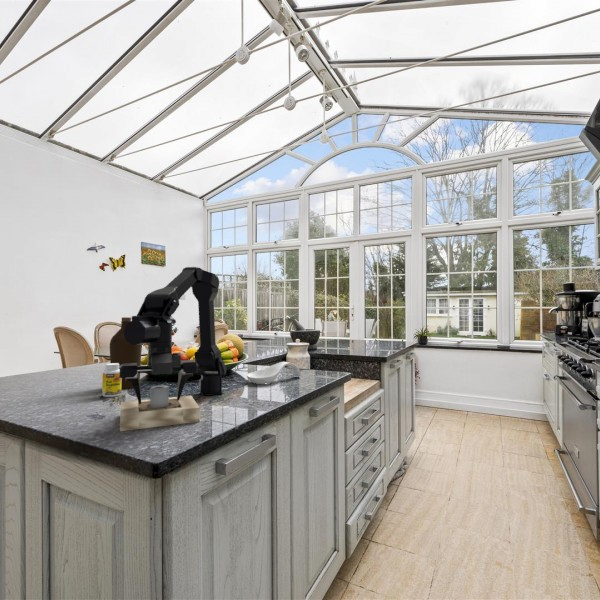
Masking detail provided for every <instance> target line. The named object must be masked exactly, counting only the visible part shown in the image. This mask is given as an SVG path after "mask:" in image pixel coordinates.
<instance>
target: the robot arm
mask: <svg viewBox="0 0 600 600" xmlns="http://www.w3.org/2000/svg"><path fill="white" fill-rule="evenodd" d="M219 286H220V279H219V277H218V276H217V275H216V274H215V273H213V272H210V271H208V270H203V268H201V267H199V266H186V267H184V268H183V269H182V271H181V272H180V273H179V274H178V275H177V276H175V277H174V279H172V280H171V281H170V282H169V283H168V284H167V285H166V286H165V287H162V288H159V289H155V290H153V291H151V292H149V293H148V294H146V296H145V297H144V301H143V303H142V304H141V306H140V308H139V310H138V312H137V314H136V315H132V316H131V322H129V323H128V324H127V326H126V327H125V330H124V337H125V339H126V341H127V342H128V343H130V344H132V345H139V344H142V345H143V344H145V345H146V344H148V345H147V365H141V366H137V363H125V364H122V365H121V366H120V378H125V381H130V382H131V384H132V386H133V388H132V389H134V393H135V395H136V398H137V401H138V402H139V404H141V400H142V396H141V387H140V385H139V379H138V373H140V374H147V373H151V375H154V376H158V375H163V374H166V375H170V374H171V375H172V373H173V372H178V371H179V372H178V379H177V390H176V397H177V400H179V399H180V397H181V396H182V393H183V389H184V387H185V384H186V383H187V381H188V380H189V378H190V377H193V376H194V374H196V376H201V377H200V379H199V380H198V381H199V382H198V384H199V385H198V386H199V388H198V389H199V392H200V394H201V395H202V396H203V397H204V396H214V395H215V396H216V395H222V394H224V392H223V391H222V389H223V388H222V383H223V381H222V380H223V379H222V378H223V377H222V376H226V374H227V365H226V364H225V362H224V360H223V357H222V351H221V350H220V348H219V347H218V346H217V343H216V329H215V328H216V327H215V326H216V325H215V304H214V303H215V302H214V301H215V298H216V297H217V295H218V293H219ZM190 289H191V290H192V291H191V292H192V294H193V296H194V298H195V299H196V300H197V302H198V305H197V307H198V308H197V309H198V324H199V325H198V327H199V344H200V345H199V347H198V348H197V350H196V351H195V352H194V359H184V360H182V354H181V352H174V353H172V352H173V351H172V349H173V346H172V345H173V324H176V323H177V321H176V319H175V318H174V317H173V316H172V315H174V313H176V311H177V309H178V308H179V306H180V299H181V298H182V297H183V295H185V294H186V292H188V290H190Z"/></svg>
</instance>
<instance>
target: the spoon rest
mask: <svg viewBox="0 0 600 600" xmlns="http://www.w3.org/2000/svg"><path fill="white" fill-rule="evenodd" d="M286 366H287V367H290V368H291V369H292V376H293V375H295V376H301V377H302V375H301V374H302V373H301V370H300V368H299V367H298V366H297V365H296V364H295V363H292V362H287V361H280V362H277V363H275V364H272V365H270V366H267V367H265V368H263V369H259V370H255V371H252V372H249V373H247V374H246V378H247V379H248V380H249V381H250V382H251V383H253V384H255V383H256V384H255V385H259V384H265V383H271V382H272V383H273V382H274V381H275V380H276V379H277V377H278V376H279V374H280V373H281V371H282V370H283V368H284V367H286ZM272 383H271V384H272ZM265 385H266V384H265Z"/></svg>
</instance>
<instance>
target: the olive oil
mask: <svg viewBox="0 0 600 600" xmlns="http://www.w3.org/2000/svg"><path fill="white" fill-rule="evenodd" d="M131 321H132V316H131V317H127V316H126V317H125V316H124V317H121V323H120V324H121V325H120V329H118V331H117V332H115V334H114V335H113V336H112V337H111V338H110V342H109V364H110V363H119V369H120V366H121V365H122V364H125V363H137V366H142V365H141V364H142V351H143V350H142V348H143V344H139V345H132V344H130V343H128V342H127V341H126V339H125V337H124V330H125V327H126V326H127V324H128V323H129V322H131ZM138 379H139V386H140V385H141V384H140V382H141V373H138ZM129 388H131V389H134V388H133V386H132V384H131V382H130V381H125V378H122V385H121V390H130V389H129Z"/></svg>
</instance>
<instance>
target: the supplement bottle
mask: <svg viewBox="0 0 600 600" xmlns="http://www.w3.org/2000/svg"><path fill="white" fill-rule="evenodd" d="M121 385H122V378H120V369H119V363H110V362H109V363H106V364H105V370H103V371H102V388H101V389H102V390H101V392H102V394H101V395H102V396H103V398H104V397H105V398H113V397H119V396H121V394H122V389H121Z"/></svg>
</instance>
